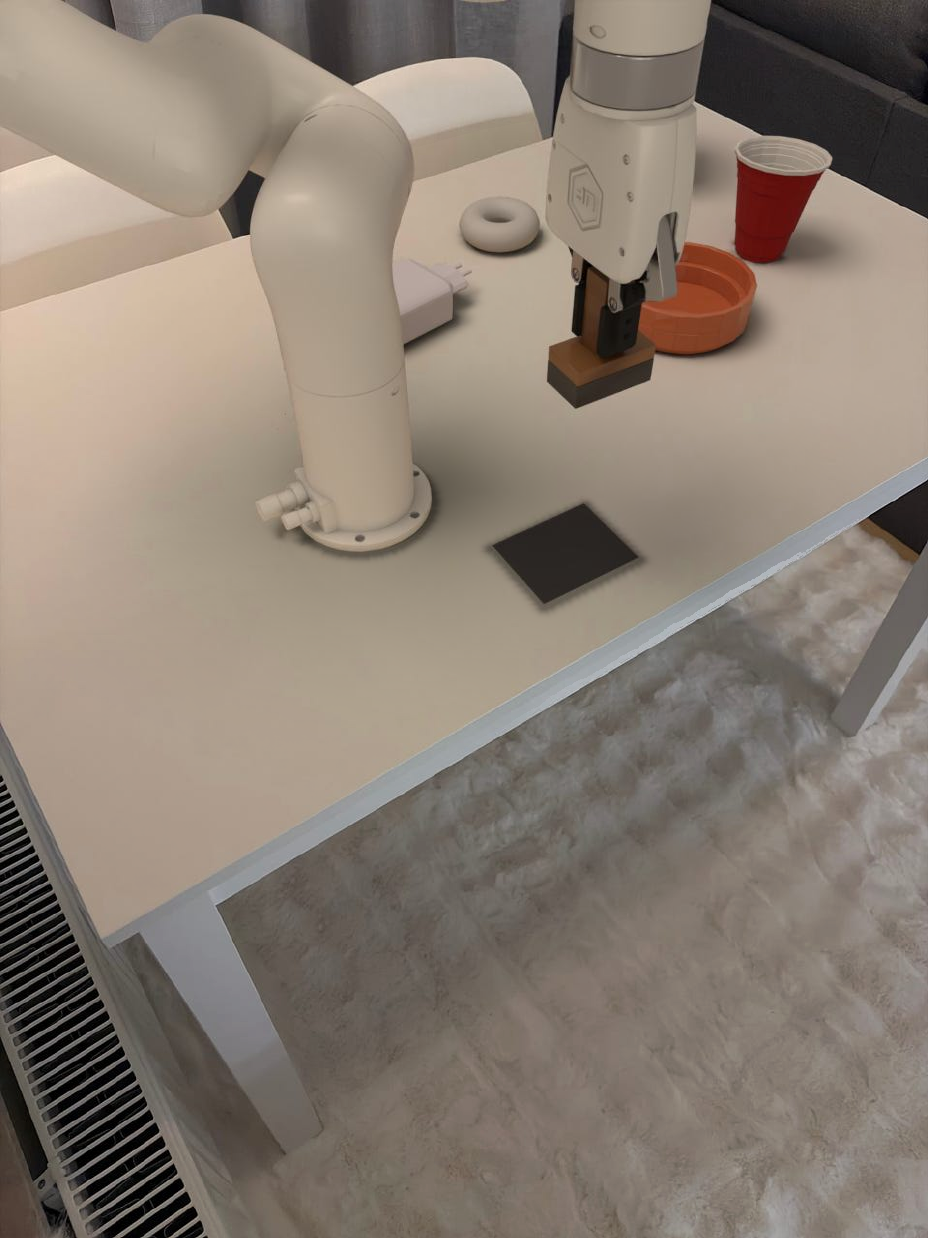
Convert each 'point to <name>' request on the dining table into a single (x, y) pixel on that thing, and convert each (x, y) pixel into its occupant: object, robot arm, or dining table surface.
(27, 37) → the robot arm
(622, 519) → the dining table surface
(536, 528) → the mat
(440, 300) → the charger
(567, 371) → the brush
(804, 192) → the plastic cup
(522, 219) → the donut
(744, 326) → the bowl
